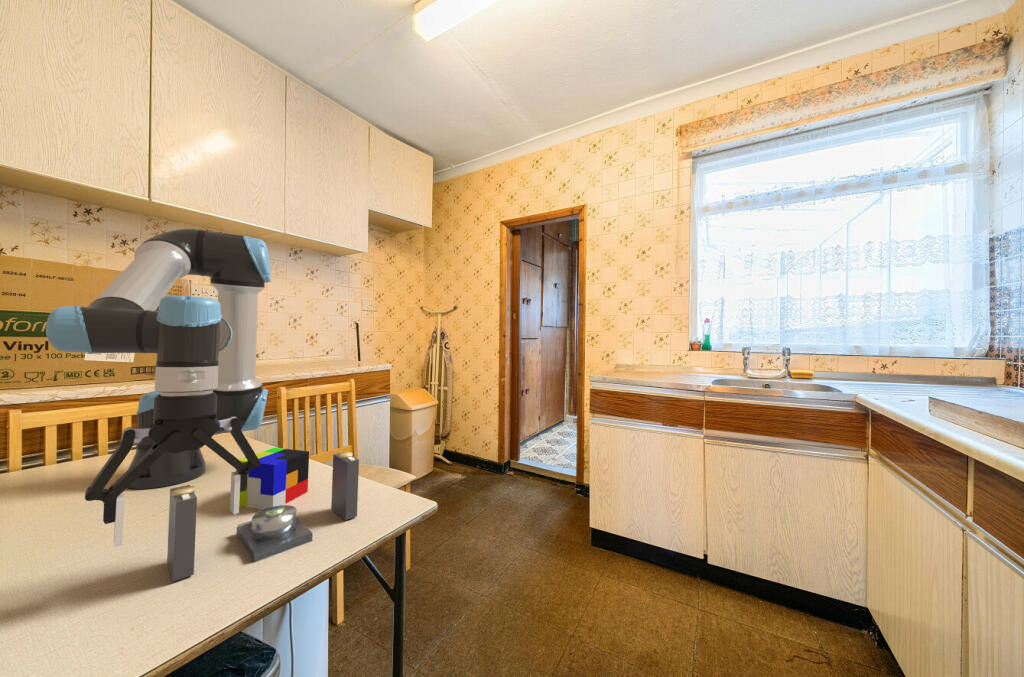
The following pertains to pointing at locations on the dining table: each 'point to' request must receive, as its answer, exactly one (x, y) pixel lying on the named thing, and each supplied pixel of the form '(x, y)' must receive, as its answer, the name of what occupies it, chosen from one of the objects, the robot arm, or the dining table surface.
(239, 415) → the robot arm
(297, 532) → the levelling plate
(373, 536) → the dining table surface
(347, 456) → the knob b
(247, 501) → the puzzle toy
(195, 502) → the dark grey flat block
